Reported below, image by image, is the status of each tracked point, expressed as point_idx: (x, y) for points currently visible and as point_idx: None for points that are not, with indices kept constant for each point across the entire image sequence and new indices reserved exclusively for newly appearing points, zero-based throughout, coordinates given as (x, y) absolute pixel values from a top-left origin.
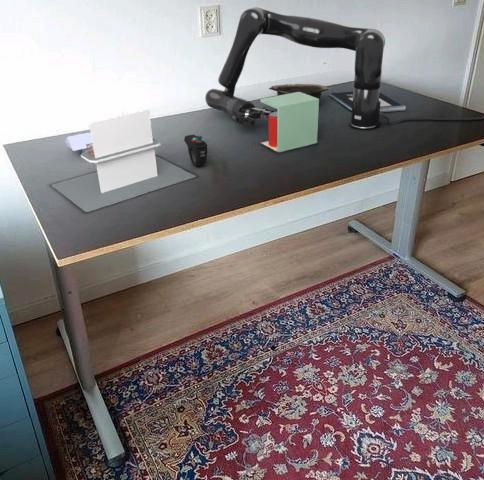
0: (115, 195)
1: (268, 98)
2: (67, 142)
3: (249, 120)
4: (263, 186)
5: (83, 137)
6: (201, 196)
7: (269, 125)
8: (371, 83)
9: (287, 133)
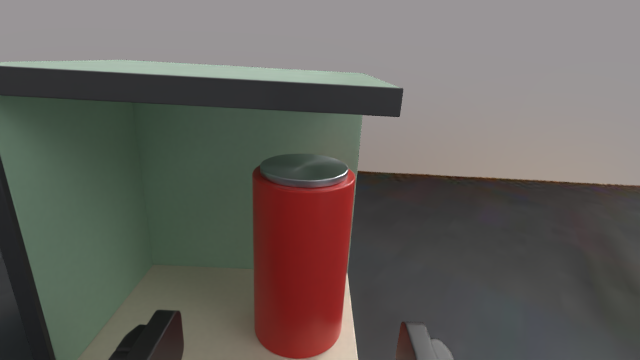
0: None
1: (330, 81)
2: None
3: (451, 355)
4: (470, 196)
5: None
6: (626, 215)
7: (350, 228)
8: None
9: None
